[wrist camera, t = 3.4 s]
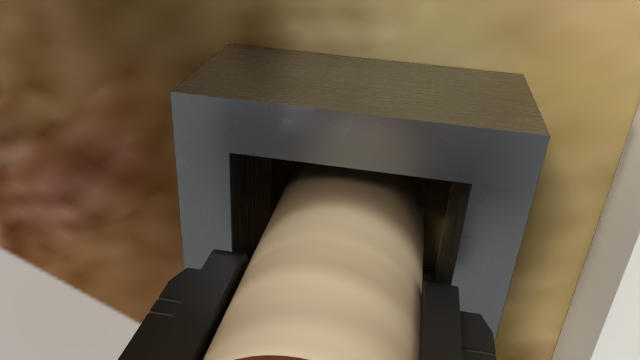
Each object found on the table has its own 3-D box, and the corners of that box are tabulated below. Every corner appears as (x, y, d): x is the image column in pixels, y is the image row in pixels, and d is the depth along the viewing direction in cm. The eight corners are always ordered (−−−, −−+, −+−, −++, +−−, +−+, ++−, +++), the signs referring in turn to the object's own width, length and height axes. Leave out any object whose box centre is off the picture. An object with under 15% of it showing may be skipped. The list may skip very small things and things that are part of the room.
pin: (296, 119, 17) (144, 386, 8) (434, 135, 16) (434, 440, 7) (292, 233, 19) (166, 549, 10) (415, 251, 18) (397, 600, 9)
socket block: (228, 44, 16) (170, 92, 12) (523, 74, 15) (549, 136, 11) (234, 272, 20) (191, 357, 16) (468, 309, 19) (476, 408, 15)
